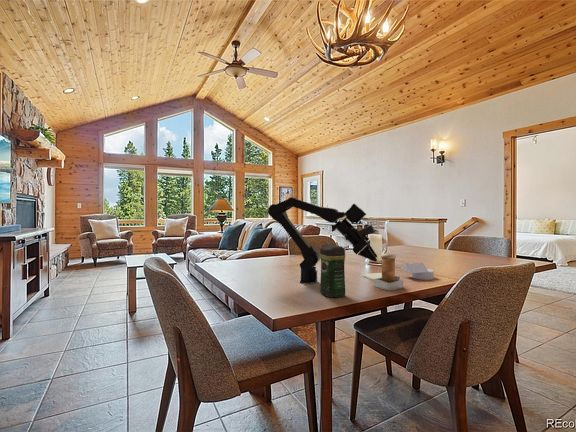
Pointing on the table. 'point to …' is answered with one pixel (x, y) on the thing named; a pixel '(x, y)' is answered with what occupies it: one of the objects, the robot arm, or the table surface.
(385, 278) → the brown cylinder
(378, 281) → the white open box
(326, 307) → the table surface
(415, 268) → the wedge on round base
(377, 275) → the mat
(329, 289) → the coffee jar
